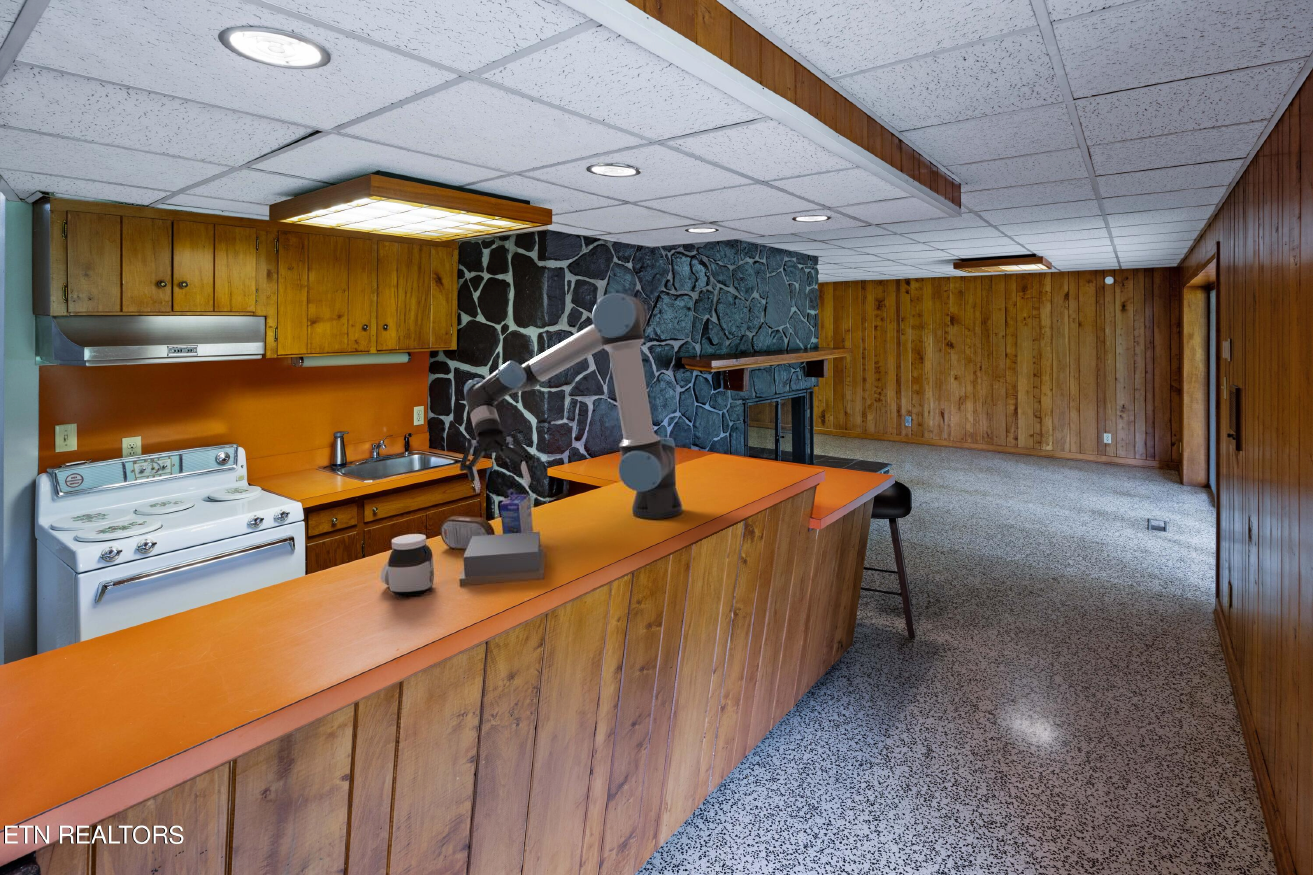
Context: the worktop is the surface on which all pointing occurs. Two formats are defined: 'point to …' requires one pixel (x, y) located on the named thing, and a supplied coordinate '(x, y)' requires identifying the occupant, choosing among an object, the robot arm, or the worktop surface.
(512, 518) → the ink cartridge box
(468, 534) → the tin
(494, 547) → the block
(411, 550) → the spread jar
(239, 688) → the worktop surface
